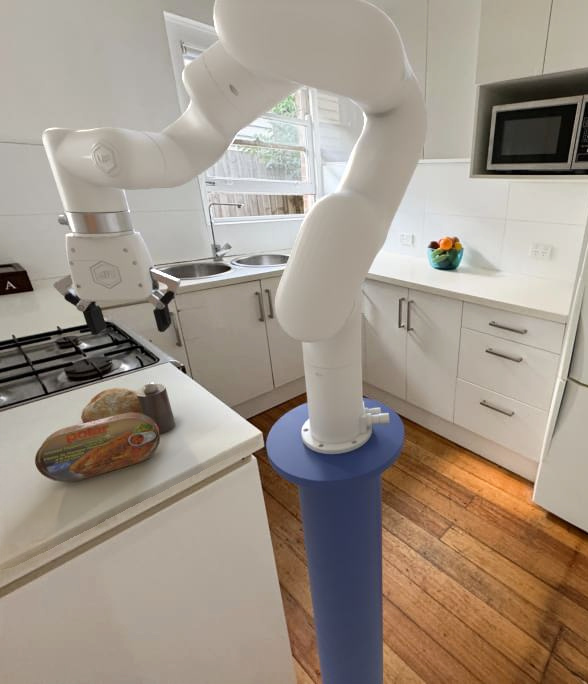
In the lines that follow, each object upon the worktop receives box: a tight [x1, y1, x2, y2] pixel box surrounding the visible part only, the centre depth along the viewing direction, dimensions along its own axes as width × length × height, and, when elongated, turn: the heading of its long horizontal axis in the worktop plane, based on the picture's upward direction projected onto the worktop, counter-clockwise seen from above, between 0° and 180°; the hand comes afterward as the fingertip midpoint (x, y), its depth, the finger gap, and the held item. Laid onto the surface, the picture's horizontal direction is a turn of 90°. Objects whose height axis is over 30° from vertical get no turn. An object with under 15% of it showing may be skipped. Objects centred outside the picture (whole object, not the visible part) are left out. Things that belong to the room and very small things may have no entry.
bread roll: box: [80, 387, 142, 424], centre depth 71 cm, size 10×10×8 cm
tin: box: [34, 413, 161, 483], centre depth 59 cm, size 15×3×8 cm, turn 122°
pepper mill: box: [136, 382, 176, 435], centre depth 69 cm, size 4×4×9 cm
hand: (132, 330), depth 63 cm, fingers open, 9 cm apart
